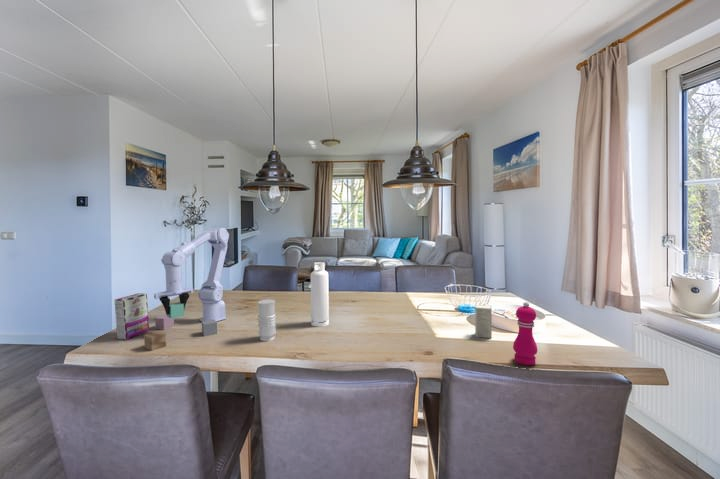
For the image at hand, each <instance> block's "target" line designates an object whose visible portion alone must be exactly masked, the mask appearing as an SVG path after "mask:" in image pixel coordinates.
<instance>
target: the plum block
mask: <svg viewBox="0 0 720 479" xmlns="http://www.w3.org/2000/svg"><path fill="white" fill-rule="evenodd" d="M174 320H175V318H172V319H171V318H169V317H167V315H166V314H163V315H160V316H156V317H155V318H154V322H155V330H161V331H165V329H166V330H168V329H171V328H174V327H175V321H174ZM173 326H174V327H173Z"/></svg>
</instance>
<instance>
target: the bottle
mask: <svg viewBox="0 0 720 479" xmlns="http://www.w3.org/2000/svg"><path fill="white" fill-rule="evenodd" d="M313 263H314V264H313V271H312V272H311V273H310V320H311V321H310V324H311V326H313V327H326V326H328V325H329V324H330V320H329V319H330V305H329V304H330V300H329V299H330V298H329V292H330V291H329V288H330V287H329V285H330V284H329V283H330V282H329V272H328V271H327V270H325V268H326V266H325V264H326V263H325V262H320V261H319V262H318V261H317V262H313Z"/></svg>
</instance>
